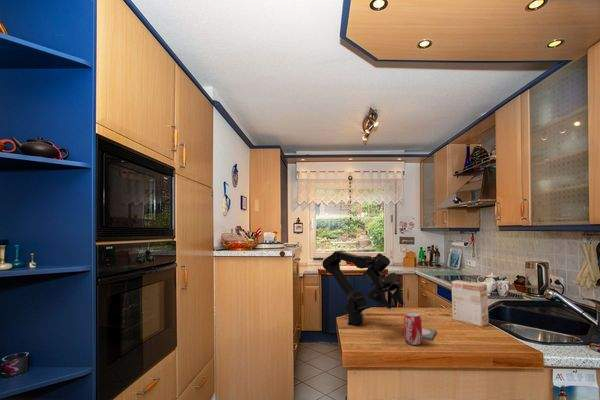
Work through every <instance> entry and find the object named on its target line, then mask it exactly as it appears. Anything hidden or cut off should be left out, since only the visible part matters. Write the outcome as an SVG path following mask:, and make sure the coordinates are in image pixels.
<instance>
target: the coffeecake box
mask: <svg viewBox="0 0 600 400" xmlns="http://www.w3.org/2000/svg"><path fill="white" fill-rule="evenodd" d="M450 283H451V304H452V306H451V308H452V319H453V321H454V320H455V321H458V322H463V323H466V324H469V325H474V326H478V327H484V326H487V325H489V324H490V323H489V304H488V284H487V283H482V282H481V283H480V282H474V281H467V280H462V279H456V280H452V281H451V282H450Z"/></svg>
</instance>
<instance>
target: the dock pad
mask: <svg viewBox="0 0 600 400" xmlns="http://www.w3.org/2000/svg"><path fill="white" fill-rule="evenodd" d="M436 334H437V329H435V328H430V327H429V328H426V327H422V340H425V341H433V339H434V338H435V336H436ZM402 335H403V337H405V332H403V333H402Z"/></svg>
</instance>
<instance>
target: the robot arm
mask: <svg viewBox="0 0 600 400" xmlns="http://www.w3.org/2000/svg"><path fill="white" fill-rule="evenodd" d="M342 261H344V262H348V263H350V264H353V265H354V266H355V267H357V268H359V269H360V270H361V269H362V270H363V269H365V270H363V274H362V277H368V279H369V280H370V281H371V286H372V287H373V288H372V289H371V290H370V291H369V292H368V293H367V294H368V298H369V299H370V301H371V300H372V301H374V302H376V303H379V305H381V306H383V307H385V308H387V309H389V310H391V308H392V306H391V304H390V303H389V301H388V300H387V298H386V296H385V294H386V293H389V294H390V296H391V297H392V298H393V299H394V300H395V301H397V303H398V304H400V305H401V306H404V305H405V302H404V300H403V297H402V293H401V292H402V291H401V290H402V289H403V285H402V283H401V282H398V278H399V275H398V274H397V273H396V272H391V273H389V274H388V275H382V272H384V271H385V270H386V269H387V267H388V266H389V265H390V264H391V260H390V259H389V257H387V256H385V255H384V254H382V253H377V254H376V256H375V258H372V256H370V255H356V254H353V253H349V252H345V251H342V250H335V251H333V252H332V253H331V254H330V255H329V256H326V257H325V258H324V259H323V261H322V268H323V269H324V270H325V272H326V273H329V274H330V275H332V276H333V278H334V279H335V281H336V282H337V283H338V285H339V287H340V288H341V290H342V291H343V292H344V294H345V295H346V298H347V299H346V300H347V303H348V304H347V305H346V306H345V312H346V313H348V315H347V316H348V321H347V325H349V326H356V327H360V326H362V325H363V324H364V314H363V311H365V310H366V306H367V299H366V296H365V294H363V292H362V291H360V290H359V291H356V290H355V289H354V287H353V286H352V284H351V283H350V282H349V280H348V279H347V277H346V276H345V274H344V273H343V271H342V270H341V265H340V264H341V262H342Z"/></svg>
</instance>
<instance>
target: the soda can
mask: <svg viewBox="0 0 600 400" xmlns="http://www.w3.org/2000/svg"><path fill="white" fill-rule="evenodd" d="M403 323H404V324H403V326H404V328H403V329H404V332H405V336H404V340H405V343H407V344H409V345H411V346H418V345H420V344H422V343H423V339H422V328H423V326H422V325H423V324H422V323H423V322H422V318H421V315H420V313H418V312H414V311H409V312H408V311H407V312H406V313H405V315H404V317H403ZM404 332H403V333H404Z"/></svg>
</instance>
